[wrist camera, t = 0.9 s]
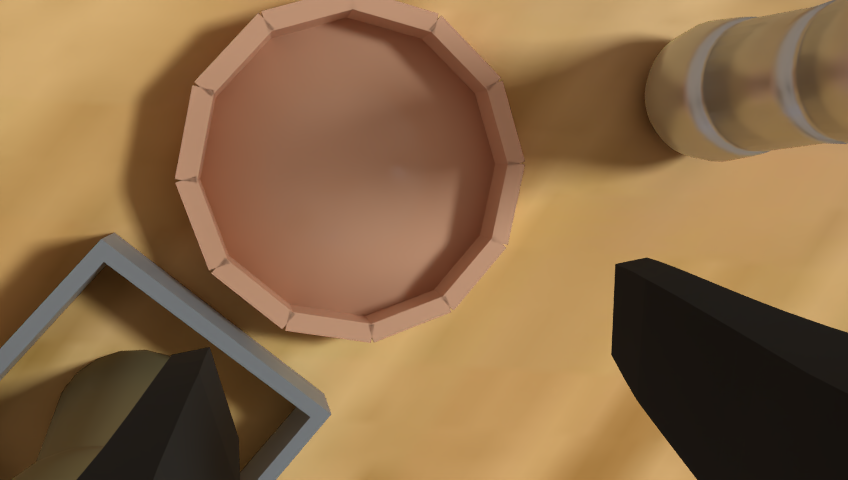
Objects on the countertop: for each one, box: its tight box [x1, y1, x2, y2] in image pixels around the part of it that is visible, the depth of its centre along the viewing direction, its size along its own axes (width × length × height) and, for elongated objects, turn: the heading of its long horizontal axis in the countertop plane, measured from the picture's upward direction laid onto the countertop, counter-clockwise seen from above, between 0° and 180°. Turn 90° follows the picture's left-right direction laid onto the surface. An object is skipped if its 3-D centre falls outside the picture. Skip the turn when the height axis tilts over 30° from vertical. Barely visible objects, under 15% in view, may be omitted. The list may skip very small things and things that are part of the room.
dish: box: [175, 0, 525, 343], centre depth 27 cm, size 14×14×2 cm
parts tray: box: [0, 233, 331, 480], centre depth 26 cm, size 11×11×2 cm
